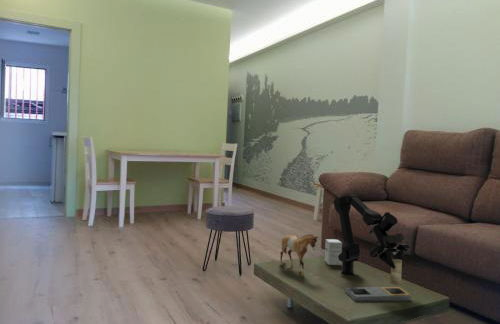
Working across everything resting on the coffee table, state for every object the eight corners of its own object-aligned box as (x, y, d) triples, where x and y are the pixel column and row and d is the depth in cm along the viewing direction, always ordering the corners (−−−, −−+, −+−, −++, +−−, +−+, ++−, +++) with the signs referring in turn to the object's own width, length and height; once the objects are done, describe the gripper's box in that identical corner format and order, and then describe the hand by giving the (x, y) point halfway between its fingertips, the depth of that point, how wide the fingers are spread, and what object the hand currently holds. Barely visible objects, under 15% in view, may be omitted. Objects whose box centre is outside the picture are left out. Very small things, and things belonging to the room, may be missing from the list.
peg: (388, 281, 176) (389, 259, 176) (396, 281, 178) (398, 258, 177) (394, 284, 172) (395, 261, 172) (403, 284, 173) (404, 261, 173)
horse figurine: (317, 278, 195) (319, 236, 194) (303, 279, 192) (305, 237, 191) (285, 260, 223) (287, 223, 222) (273, 261, 220) (274, 224, 219)
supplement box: (324, 261, 226) (325, 238, 225) (337, 261, 226) (338, 239, 226) (327, 265, 218) (329, 242, 218) (341, 265, 219) (342, 242, 219)
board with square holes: (355, 301, 167) (355, 296, 166) (345, 291, 177) (345, 286, 177) (411, 300, 170) (411, 295, 170) (397, 291, 181) (398, 286, 181)
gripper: (375, 227, 174) (392, 260, 164) (408, 226, 181) (426, 257, 172) (362, 241, 182) (377, 273, 172) (394, 239, 189) (411, 269, 179)
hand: (398, 267), depth 173 cm, fingers closed on peg, 4 cm apart
